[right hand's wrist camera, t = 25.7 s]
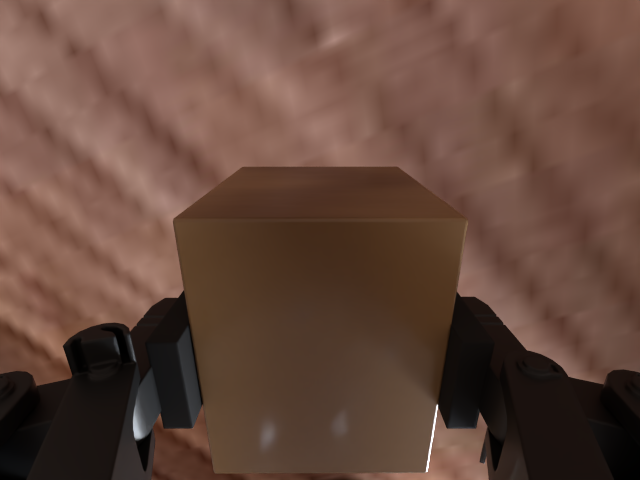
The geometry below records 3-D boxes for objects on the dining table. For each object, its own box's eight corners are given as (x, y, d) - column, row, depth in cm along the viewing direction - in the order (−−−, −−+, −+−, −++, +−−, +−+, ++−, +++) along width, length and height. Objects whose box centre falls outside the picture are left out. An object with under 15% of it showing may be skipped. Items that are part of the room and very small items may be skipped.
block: (398, 166, 14) (470, 218, 8) (385, 330, 17) (428, 474, 10) (241, 166, 14) (170, 218, 8) (254, 330, 17) (212, 474, 10)
